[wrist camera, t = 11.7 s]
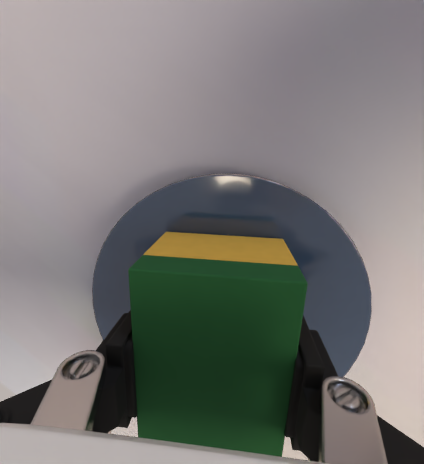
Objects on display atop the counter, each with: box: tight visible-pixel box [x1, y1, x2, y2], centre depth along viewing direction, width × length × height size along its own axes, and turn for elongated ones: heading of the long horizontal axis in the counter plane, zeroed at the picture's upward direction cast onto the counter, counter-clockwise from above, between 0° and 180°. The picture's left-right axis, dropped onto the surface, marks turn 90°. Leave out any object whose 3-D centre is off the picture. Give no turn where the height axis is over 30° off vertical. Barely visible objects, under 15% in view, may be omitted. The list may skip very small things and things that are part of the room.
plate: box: [92, 173, 371, 377], centre depth 13 cm, size 13×13×2 cm
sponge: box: [128, 232, 308, 457], centre depth 10 cm, size 8×5×4 cm, turn 178°
